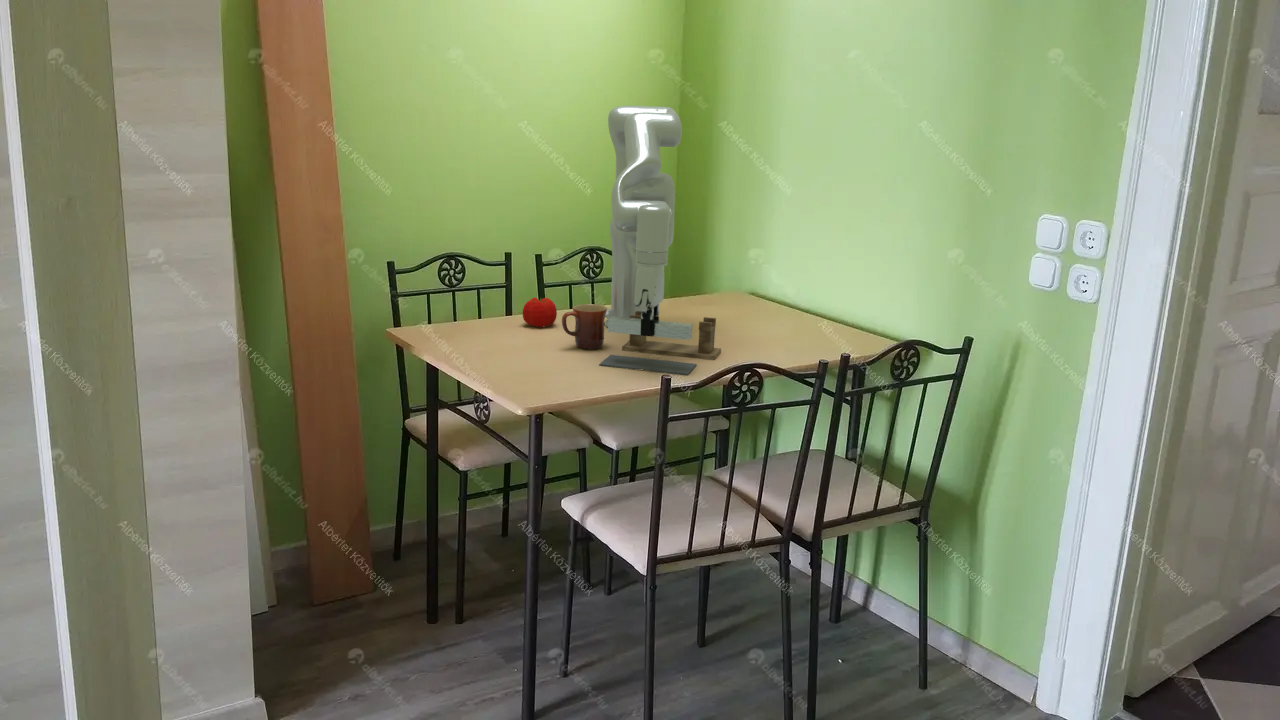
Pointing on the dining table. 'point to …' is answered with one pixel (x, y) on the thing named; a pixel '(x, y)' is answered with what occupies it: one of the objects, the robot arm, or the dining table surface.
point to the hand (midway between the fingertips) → (649, 333)
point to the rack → (701, 351)
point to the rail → (660, 328)
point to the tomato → (539, 312)
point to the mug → (587, 325)
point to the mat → (648, 364)
